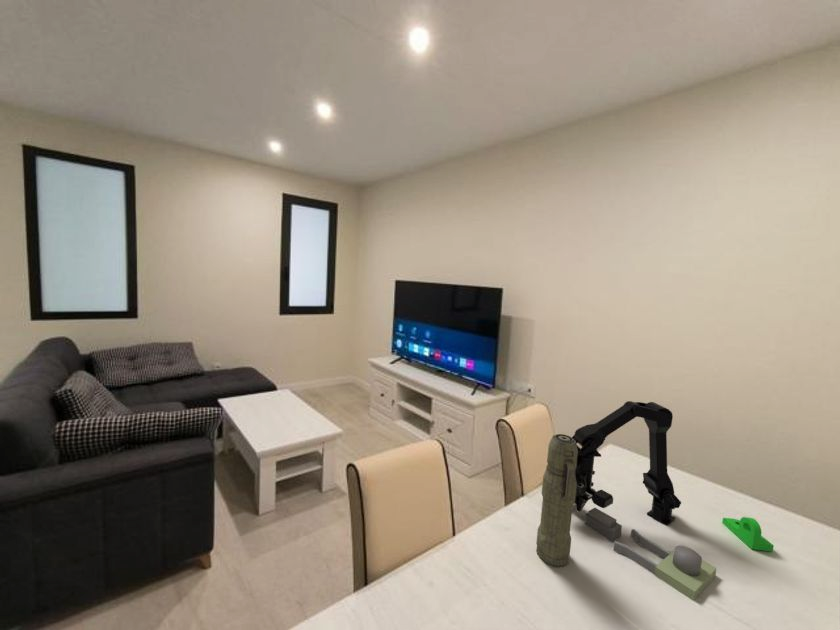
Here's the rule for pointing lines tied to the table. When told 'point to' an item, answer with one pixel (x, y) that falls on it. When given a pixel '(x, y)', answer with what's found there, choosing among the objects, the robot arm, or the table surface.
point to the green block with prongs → (672, 565)
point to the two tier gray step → (603, 524)
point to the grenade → (557, 501)
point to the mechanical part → (748, 532)
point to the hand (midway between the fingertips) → (578, 511)
